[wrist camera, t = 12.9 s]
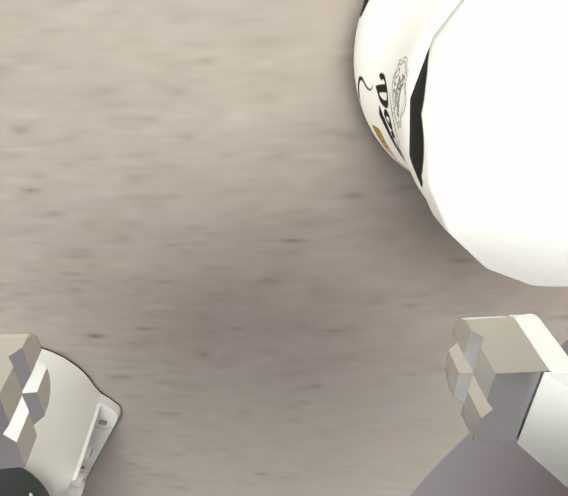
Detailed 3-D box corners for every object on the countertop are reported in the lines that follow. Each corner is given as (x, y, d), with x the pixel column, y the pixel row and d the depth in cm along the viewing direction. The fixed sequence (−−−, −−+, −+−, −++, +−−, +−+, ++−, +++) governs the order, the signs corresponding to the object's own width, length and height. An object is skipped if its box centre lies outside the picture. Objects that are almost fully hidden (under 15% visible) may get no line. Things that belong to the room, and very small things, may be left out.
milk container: (320, 136, 40) (356, 284, 25) (385, -151, 31) (506, -192, 16) (537, 171, 42) (692, 326, 27) (659, -87, 33) (997, -70, 18)
